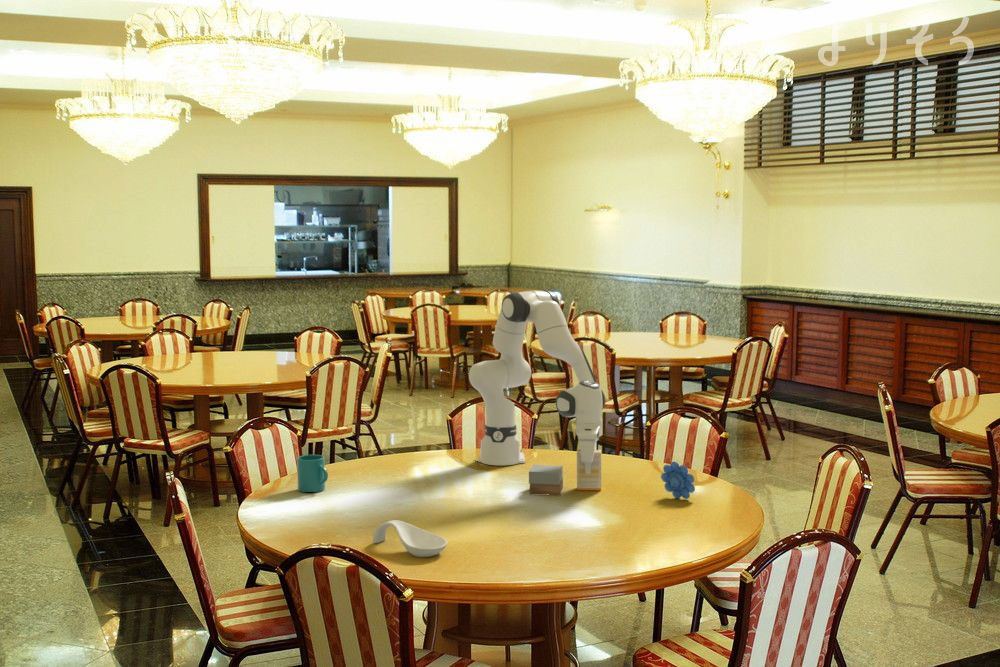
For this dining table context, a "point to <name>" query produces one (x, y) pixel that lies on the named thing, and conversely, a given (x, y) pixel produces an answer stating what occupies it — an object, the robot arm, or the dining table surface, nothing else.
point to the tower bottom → (546, 488)
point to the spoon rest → (412, 538)
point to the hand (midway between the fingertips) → (589, 470)
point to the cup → (311, 473)
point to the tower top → (545, 474)
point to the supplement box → (592, 479)
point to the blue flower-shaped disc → (678, 480)
